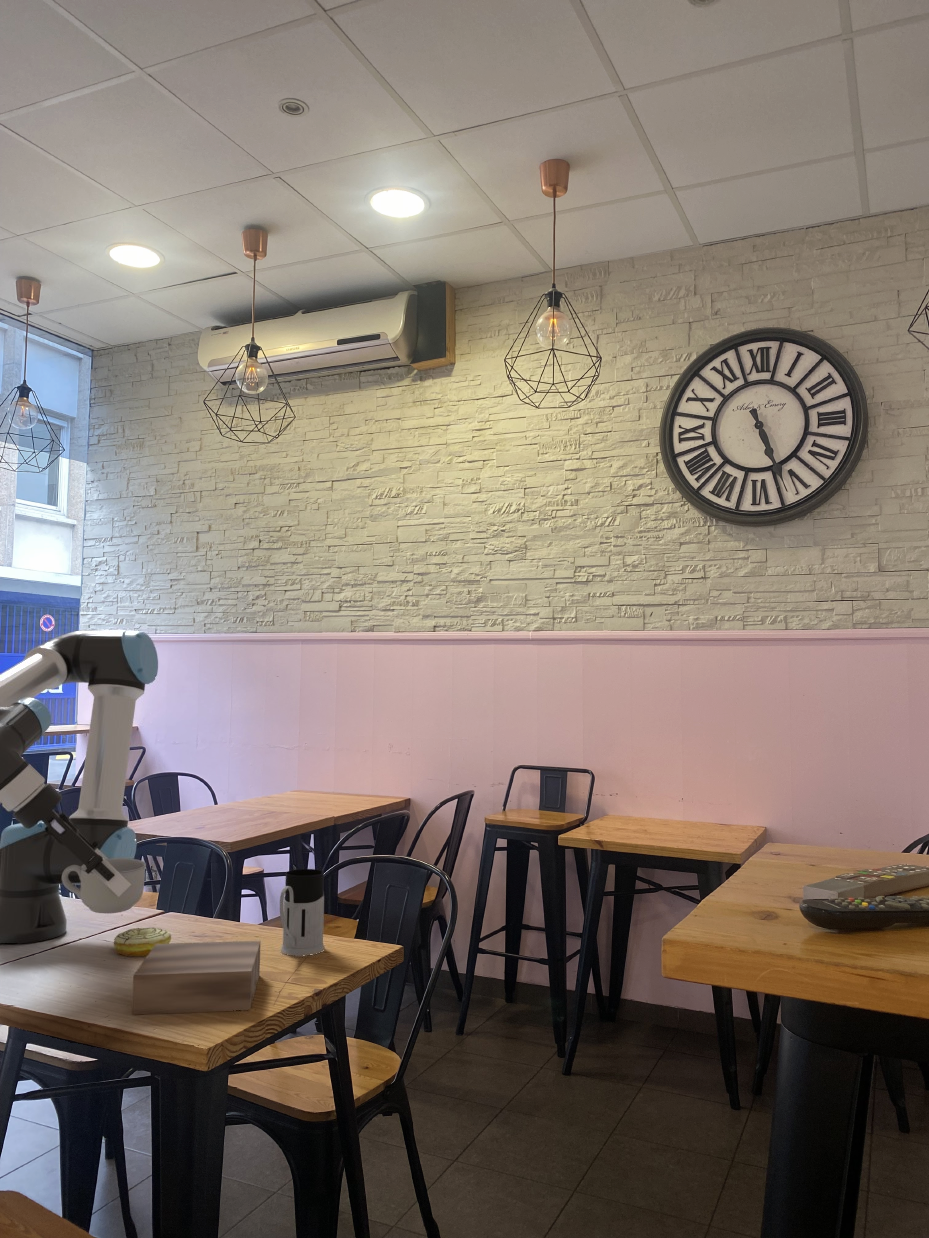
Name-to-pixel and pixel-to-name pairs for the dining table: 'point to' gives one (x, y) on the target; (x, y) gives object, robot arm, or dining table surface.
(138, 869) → the teacup
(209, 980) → the block
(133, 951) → the decorated donut
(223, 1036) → the dining table surface
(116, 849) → the robot arm
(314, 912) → the glass holder
